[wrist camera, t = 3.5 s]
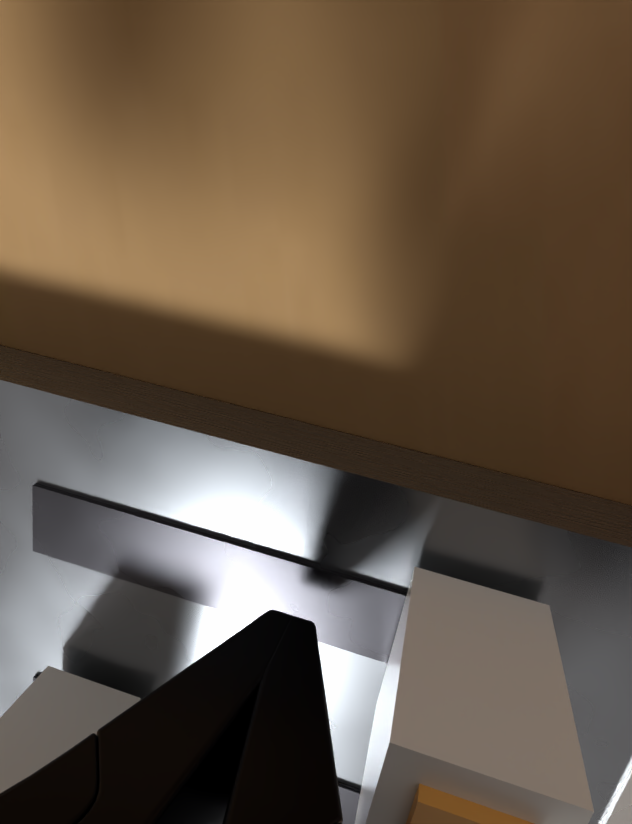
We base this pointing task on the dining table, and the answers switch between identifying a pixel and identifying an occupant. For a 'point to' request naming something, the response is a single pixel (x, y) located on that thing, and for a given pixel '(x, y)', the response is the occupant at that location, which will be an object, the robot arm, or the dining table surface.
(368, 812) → the block
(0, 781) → the breaker
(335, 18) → the dining table surface
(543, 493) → the panel
